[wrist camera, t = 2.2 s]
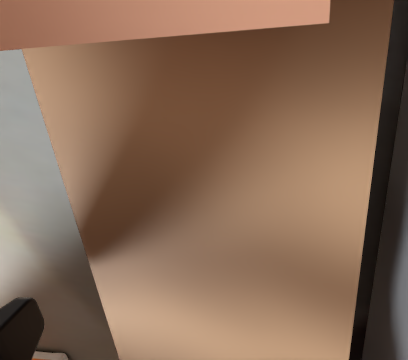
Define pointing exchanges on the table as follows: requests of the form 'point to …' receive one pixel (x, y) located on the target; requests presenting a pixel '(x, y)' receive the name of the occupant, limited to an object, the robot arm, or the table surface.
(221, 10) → the block
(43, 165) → the table surface
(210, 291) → the pallet
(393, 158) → the dock
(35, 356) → the skincare box
